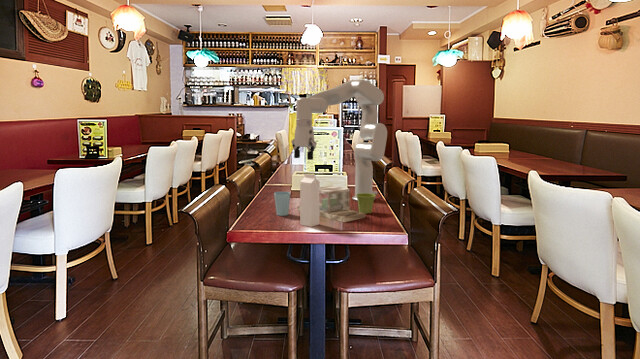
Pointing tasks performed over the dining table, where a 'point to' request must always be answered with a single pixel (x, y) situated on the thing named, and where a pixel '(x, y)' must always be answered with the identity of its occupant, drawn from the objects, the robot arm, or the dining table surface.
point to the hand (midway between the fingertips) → (303, 158)
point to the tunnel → (341, 198)
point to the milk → (309, 200)
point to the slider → (331, 207)
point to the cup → (282, 203)
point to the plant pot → (365, 202)
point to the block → (325, 202)
